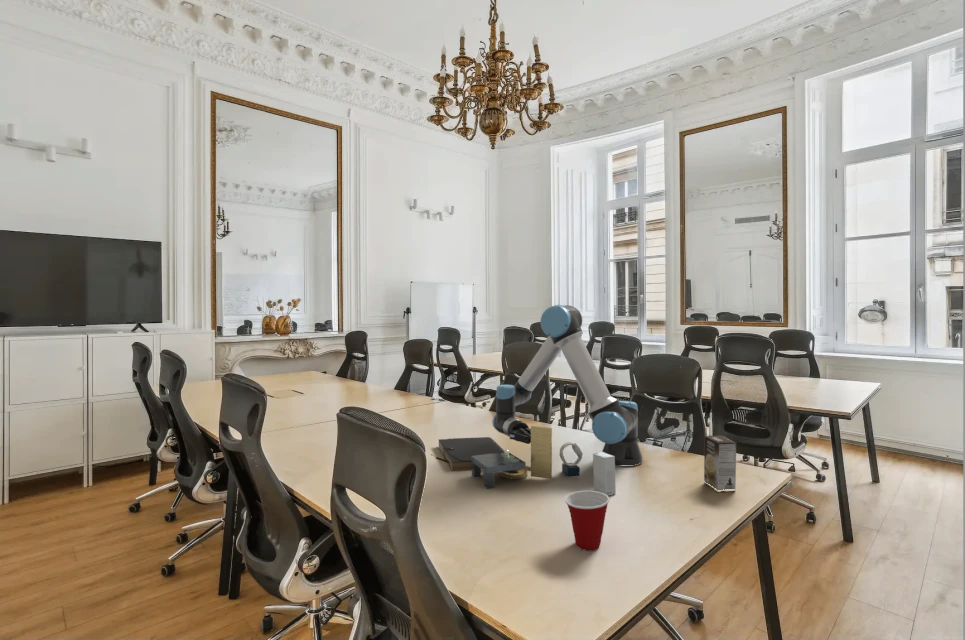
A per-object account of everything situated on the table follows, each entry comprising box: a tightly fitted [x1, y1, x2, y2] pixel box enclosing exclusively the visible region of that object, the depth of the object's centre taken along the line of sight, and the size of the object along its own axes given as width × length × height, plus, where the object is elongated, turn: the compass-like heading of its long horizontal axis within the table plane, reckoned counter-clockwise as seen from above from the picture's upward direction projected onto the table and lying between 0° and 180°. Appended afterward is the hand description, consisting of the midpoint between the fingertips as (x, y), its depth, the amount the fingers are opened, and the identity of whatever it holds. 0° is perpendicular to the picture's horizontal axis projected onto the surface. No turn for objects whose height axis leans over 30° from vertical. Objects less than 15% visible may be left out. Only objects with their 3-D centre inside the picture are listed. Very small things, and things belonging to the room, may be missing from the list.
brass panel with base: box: [501, 425, 553, 480], centre depth 178 cm, size 9×17×18 cm, turn 81°
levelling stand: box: [471, 449, 527, 490], centre depth 175 cm, size 14×14×9 cm
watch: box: [558, 441, 583, 478], centre depth 181 cm, size 6×8×11 cm
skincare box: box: [592, 451, 617, 497], centre depth 162 cm, size 6×4×12 cm
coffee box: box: [703, 434, 737, 490], centre depth 167 cm, size 9×6×16 cm
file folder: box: [438, 436, 505, 472], centre depth 203 cm, size 33×4×24 cm
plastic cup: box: [564, 490, 610, 551], centre depth 126 cm, size 11×11×12 cm
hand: (546, 444), depth 175 cm, fingers closed
